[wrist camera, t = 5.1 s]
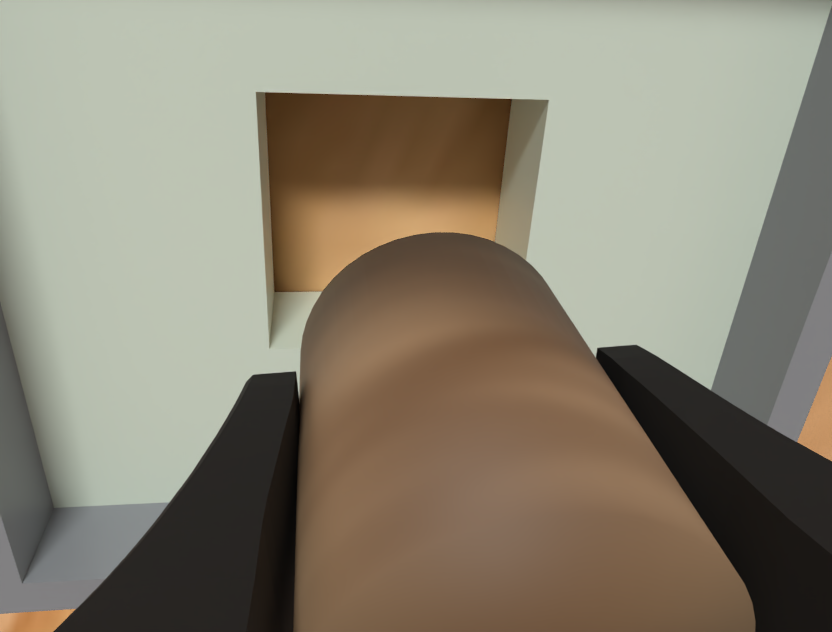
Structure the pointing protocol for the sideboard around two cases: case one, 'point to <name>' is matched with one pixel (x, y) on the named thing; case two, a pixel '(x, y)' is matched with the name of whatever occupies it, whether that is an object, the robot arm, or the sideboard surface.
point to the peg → (483, 464)
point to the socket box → (288, 311)
